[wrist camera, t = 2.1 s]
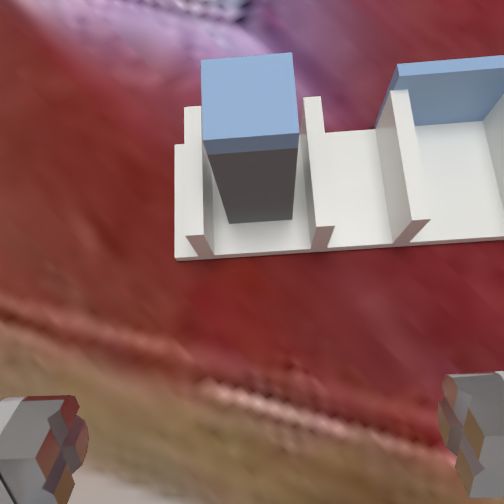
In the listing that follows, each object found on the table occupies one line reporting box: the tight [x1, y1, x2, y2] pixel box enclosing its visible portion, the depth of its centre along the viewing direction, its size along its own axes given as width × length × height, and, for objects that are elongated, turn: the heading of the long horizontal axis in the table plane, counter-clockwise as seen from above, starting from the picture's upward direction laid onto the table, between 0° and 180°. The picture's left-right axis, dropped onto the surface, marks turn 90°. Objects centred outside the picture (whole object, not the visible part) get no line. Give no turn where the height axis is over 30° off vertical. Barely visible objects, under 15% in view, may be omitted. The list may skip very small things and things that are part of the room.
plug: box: [201, 52, 299, 224], centre depth 23 cm, size 4×4×10 cm
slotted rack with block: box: [175, 55, 504, 261], centre depth 26 cm, size 23×9×6 cm, turn 93°
